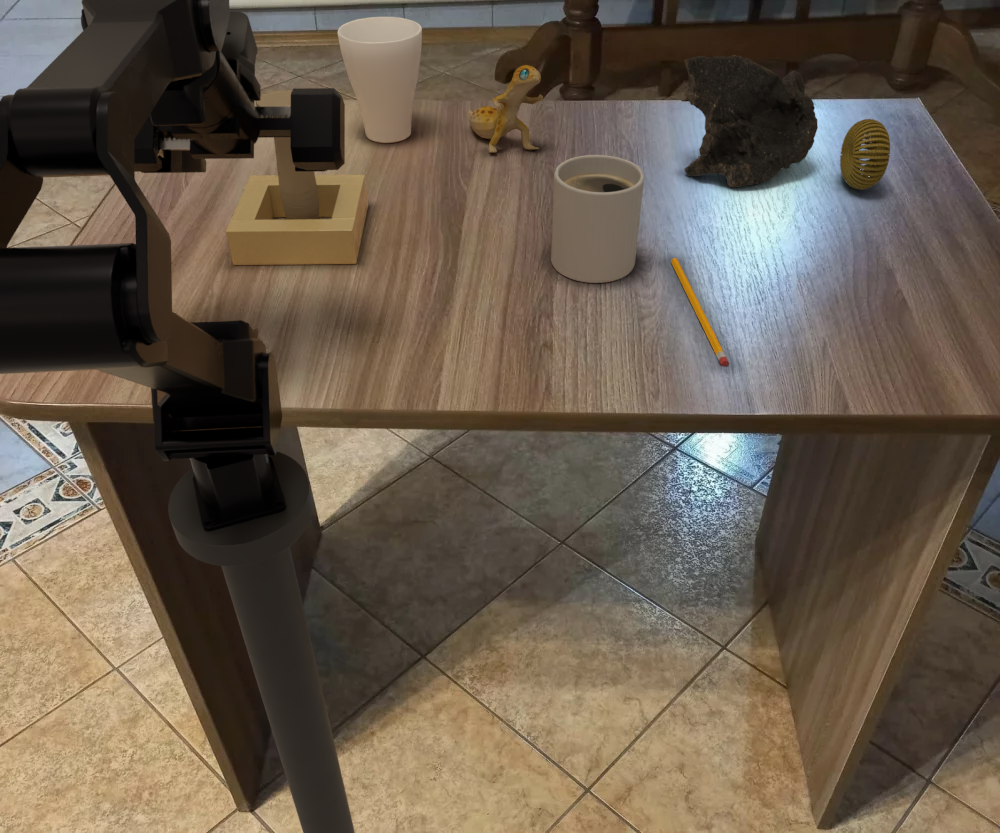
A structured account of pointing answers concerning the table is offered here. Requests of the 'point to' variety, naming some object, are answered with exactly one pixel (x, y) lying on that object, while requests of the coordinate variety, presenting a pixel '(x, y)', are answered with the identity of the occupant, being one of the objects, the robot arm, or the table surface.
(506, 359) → the table surface
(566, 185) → the mug
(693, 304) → the pencil
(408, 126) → the cup
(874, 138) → the sculpture
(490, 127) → the toy
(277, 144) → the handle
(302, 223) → the stand
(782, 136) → the rock
